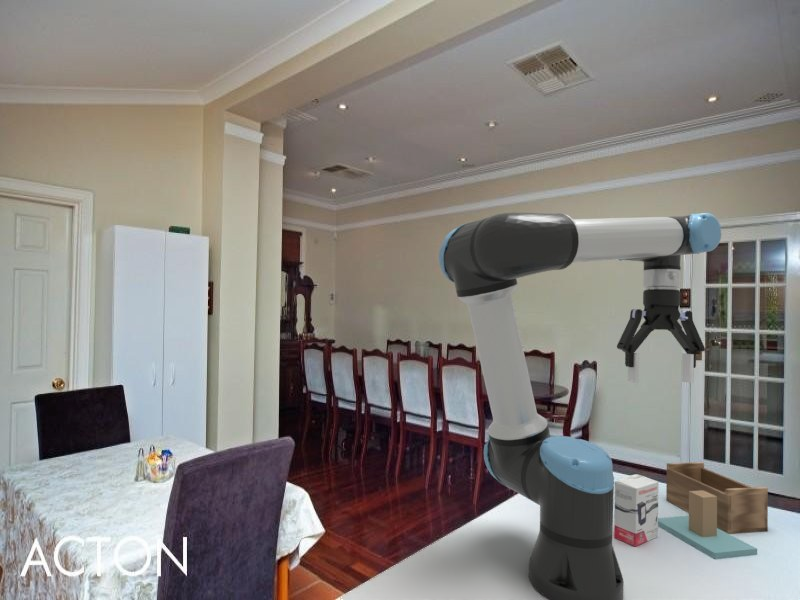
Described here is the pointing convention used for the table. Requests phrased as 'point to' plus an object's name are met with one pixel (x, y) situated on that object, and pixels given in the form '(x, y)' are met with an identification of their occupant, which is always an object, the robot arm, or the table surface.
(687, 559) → the table surface
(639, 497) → the ink box
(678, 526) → the lid
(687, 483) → the box
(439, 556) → the table surface
